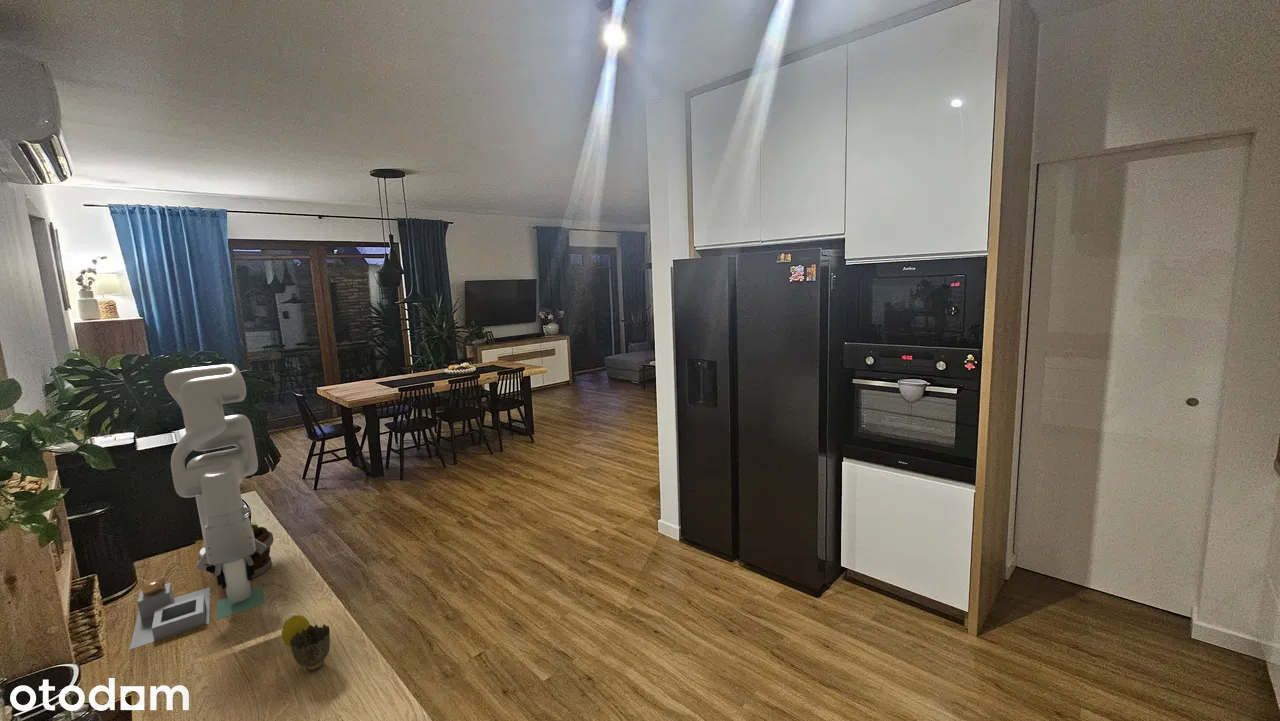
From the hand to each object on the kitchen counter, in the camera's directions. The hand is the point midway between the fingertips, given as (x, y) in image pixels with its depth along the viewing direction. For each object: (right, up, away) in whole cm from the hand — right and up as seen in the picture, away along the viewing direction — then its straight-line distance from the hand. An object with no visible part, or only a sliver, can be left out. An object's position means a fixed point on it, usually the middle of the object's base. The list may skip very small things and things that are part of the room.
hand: (237, 581), depth 140 cm
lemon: (+26, -9, -15) cm, 32 cm away
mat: (0, -7, +1) cm, 7 cm away
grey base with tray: (-13, -8, -4) cm, 16 cm away
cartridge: (0, -4, +1) cm, 4 cm away
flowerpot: (-9, -5, +16) cm, 18 cm away
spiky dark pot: (+34, -10, -22) cm, 41 cm away
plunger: (-20, -6, -1) cm, 21 cm away
